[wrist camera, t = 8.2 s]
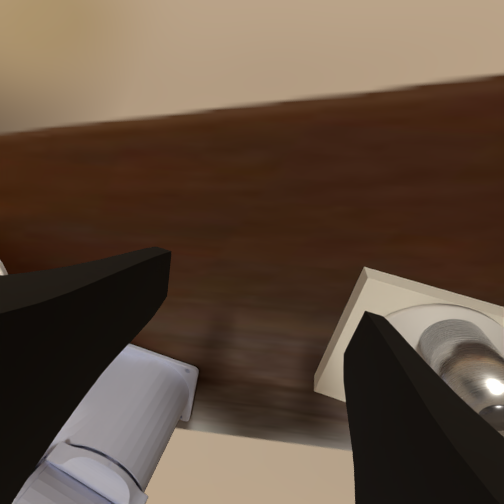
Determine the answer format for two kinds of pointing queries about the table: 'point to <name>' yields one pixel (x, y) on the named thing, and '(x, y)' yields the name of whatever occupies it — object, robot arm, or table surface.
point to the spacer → (467, 366)
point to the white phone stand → (2, 269)
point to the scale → (401, 319)
